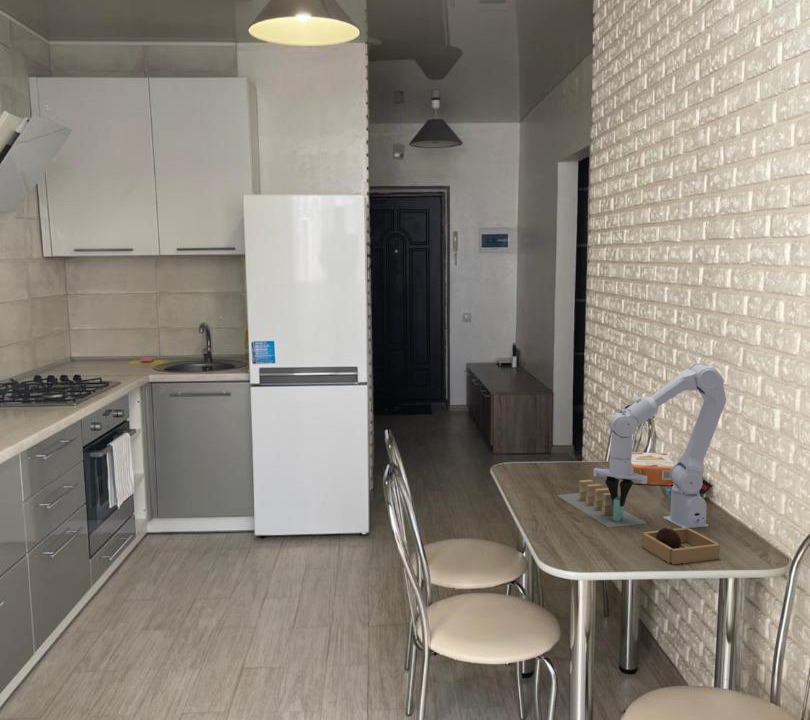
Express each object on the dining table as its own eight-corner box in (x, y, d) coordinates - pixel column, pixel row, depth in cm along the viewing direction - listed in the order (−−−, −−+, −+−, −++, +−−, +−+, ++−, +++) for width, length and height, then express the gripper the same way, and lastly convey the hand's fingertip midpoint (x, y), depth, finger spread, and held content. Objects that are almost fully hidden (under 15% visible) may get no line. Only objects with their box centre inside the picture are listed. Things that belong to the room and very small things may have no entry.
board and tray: (720, 558, 192) (721, 544, 192) (667, 565, 188) (668, 551, 188) (599, 492, 246) (600, 481, 245) (556, 496, 242) (556, 485, 241)
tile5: (592, 500, 236) (593, 481, 236) (580, 501, 235) (581, 482, 235) (590, 498, 238) (590, 479, 237) (578, 500, 237) (578, 480, 236)
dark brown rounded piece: (692, 551, 197) (693, 523, 196) (677, 560, 192) (679, 531, 191) (661, 543, 203) (663, 516, 202) (647, 551, 197) (648, 523, 196)
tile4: (600, 504, 232) (601, 485, 231) (588, 506, 231) (589, 486, 230) (597, 503, 234) (598, 483, 233) (585, 504, 233) (586, 484, 232)
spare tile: (623, 516, 221) (623, 496, 220) (618, 521, 218) (619, 500, 217) (617, 515, 222) (618, 495, 221) (612, 520, 218) (613, 499, 217)
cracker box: (633, 466, 254) (624, 451, 275) (632, 484, 255) (624, 467, 275) (678, 467, 252) (666, 452, 273) (677, 486, 253) (665, 469, 273)
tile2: (617, 514, 224) (618, 494, 223) (604, 515, 222) (605, 495, 222) (614, 512, 225) (615, 492, 224) (601, 514, 224) (602, 493, 223)
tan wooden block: (608, 509, 228) (609, 489, 227) (596, 510, 227) (597, 490, 226) (605, 508, 229) (606, 488, 229) (593, 509, 228) (594, 489, 228)
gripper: (651, 457, 217) (648, 505, 218) (599, 450, 224) (598, 496, 226) (643, 463, 211) (641, 512, 213) (591, 455, 219) (589, 502, 220)
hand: (618, 504), depth 219 cm, fingers closed on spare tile, 1 cm apart
